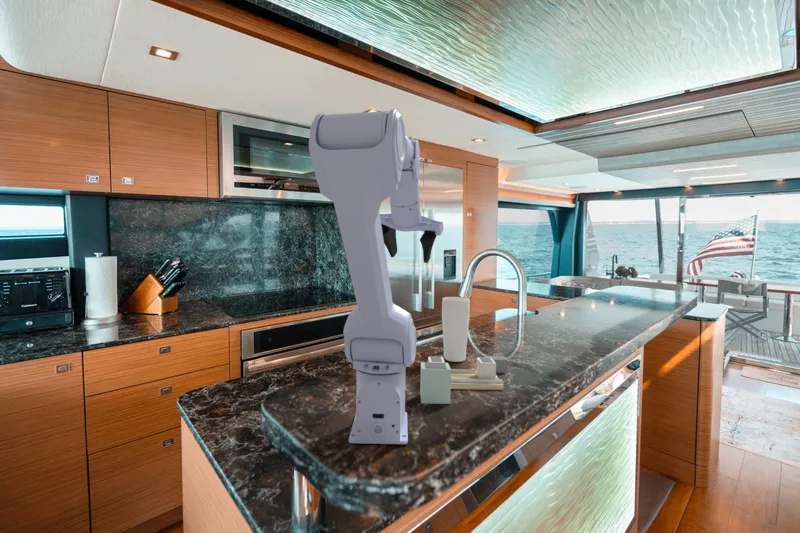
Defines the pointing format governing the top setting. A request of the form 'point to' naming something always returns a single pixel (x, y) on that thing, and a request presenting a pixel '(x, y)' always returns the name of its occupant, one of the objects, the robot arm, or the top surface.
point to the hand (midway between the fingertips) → (410, 257)
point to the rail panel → (474, 385)
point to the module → (435, 383)
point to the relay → (500, 363)
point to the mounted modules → (484, 366)
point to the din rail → (463, 380)
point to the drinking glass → (455, 327)
